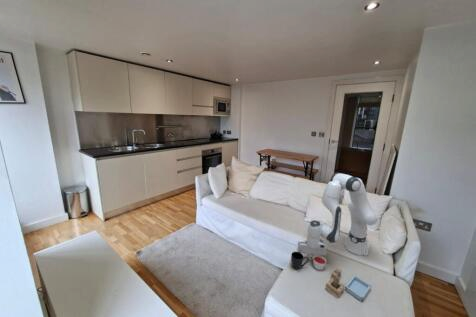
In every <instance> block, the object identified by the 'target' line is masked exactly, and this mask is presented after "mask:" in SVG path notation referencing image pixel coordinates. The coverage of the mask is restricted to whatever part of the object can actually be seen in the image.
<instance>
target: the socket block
mask: <svg viewBox="0 0 476 317" xmlns="http://www.w3.org/2000/svg"><path fill="white" fill-rule="evenodd" d="M333 280H334V278H331V277H330V280H328V281H327V283H325V288H324V289H325V290H326V291H327V292H329V293H330V294H331V295H333V296H334V297H335V298H337V299H339V297H340V296H341V295H342V294H343V293H344V292H345V286H346V285H344V284H343V283H341V282H340V281H339V284H338V289H336V288H335V287H333Z"/></svg>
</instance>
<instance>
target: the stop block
mask: <svg viewBox="0 0 476 317" xmlns="http://www.w3.org/2000/svg"><path fill="white" fill-rule="evenodd" d="M335 275H337V276H339V279H340V278H341V275H342V269H340V268H338V267H336V268H335V269H334V270H333V271H331V274H330V279H331V278H334V276H335Z"/></svg>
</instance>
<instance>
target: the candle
mask: <svg viewBox="0 0 476 317" xmlns="http://www.w3.org/2000/svg"><path fill="white" fill-rule="evenodd" d="M312 261H313V262H312V263H313V267H314V268H315V269H316V270H319V271H322V270H324V268H325V266H326V264H327V259H326V258H325V257H324V255H316V254H315V255H314V256H313V259H312Z"/></svg>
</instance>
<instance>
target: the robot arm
mask: <svg viewBox="0 0 476 317" xmlns="http://www.w3.org/2000/svg"><path fill="white" fill-rule="evenodd" d="M329 180H330V181H328V183H327V184H326V186H325V188H324V190H323V193H322V197H321V201H322V205H323V206H324V207H325V208H326V209H327V210H328V211H329V212H330V213H331V215H332V222H331V226H330V225H328V224H327V223H325V222H323V221H320V220H314V219H313V220H311V221H310V222H309V224H308V227H307V236H306V240H300V241H298V242H297V252H300V253H301V254H307V255H308V256H307V257H308V258H309V259H312V260H313V256H314V255H321V256H326V255H327V245H326V243H325V241H324V240H323V239H321V238H324V239H325V240H326V241H328V243H331V244H335V243H337V242H338V241H339V240H340V237H341V234H340V230H341V229H340V228H341V221H342V207H340V206H341V205H340V197H341V192H342V191H343V190H346V191H347V192H348V193H349V197H350V198H349V199H350V202H349V203H348V204H347V205H348V206H347V208H348V210H349V214H350V229H349V232H348V235H346V236H345V240H344V241H343V242H342V244H343V246H344V247H345V249H346V250H347V251H348V252H350V253H352V254H353V255H358V256H368V255H369V252H370V248H371V245H370V244H369V241H368V239H367V236H368V234H367V232H368V226H374V225H376V224H377V222H378V221H379V217H378V216H377V214H376V213H375V211H374V209H373V208H372V206H371V204H370V201H369V199H368V195H367V191H366V188H365V187H366V186H365V184H364V183H363V180H362V179H361V178H359V177H355V176H352V175H349V174H345V173H341V172H334V173H333V174H332V175H331V177H330V179H329ZM320 237H321V238H320Z"/></svg>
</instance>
